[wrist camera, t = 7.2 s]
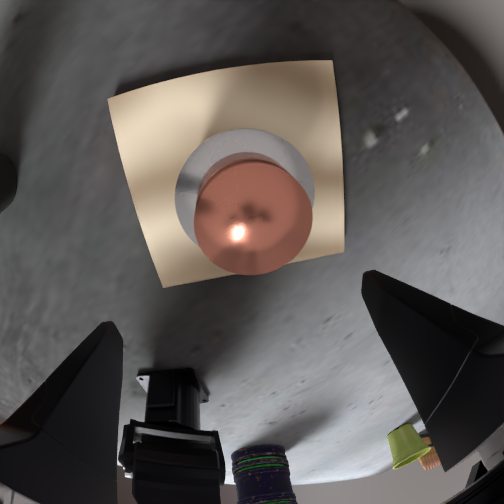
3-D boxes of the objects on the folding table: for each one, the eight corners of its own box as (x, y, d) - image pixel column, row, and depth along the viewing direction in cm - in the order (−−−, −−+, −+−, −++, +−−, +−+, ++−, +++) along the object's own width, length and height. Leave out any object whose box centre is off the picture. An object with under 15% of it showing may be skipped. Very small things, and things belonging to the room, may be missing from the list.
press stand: (339, 245, 22) (363, 277, 19) (164, 280, 22) (157, 318, 18) (326, 61, 15) (357, 53, 12) (112, 98, 15) (84, 99, 11)
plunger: (298, 219, 20) (337, 277, 13) (196, 238, 19) (191, 307, 13) (287, 115, 16) (332, 125, 10) (171, 136, 16) (145, 157, 10)
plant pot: (392, 425, 46) (406, 457, 39) (424, 414, 48) (438, 443, 40) (374, 443, 51) (385, 473, 43) (405, 433, 52) (417, 460, 45)
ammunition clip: (407, 440, 57) (422, 473, 46) (412, 436, 56) (427, 469, 46) (425, 436, 60) (439, 465, 50) (429, 432, 60) (444, 462, 49)
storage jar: (226, 448, 39) (235, 527, 26) (285, 440, 40) (303, 517, 27) (234, 464, 44) (243, 530, 31) (285, 457, 45) (300, 522, 32)
